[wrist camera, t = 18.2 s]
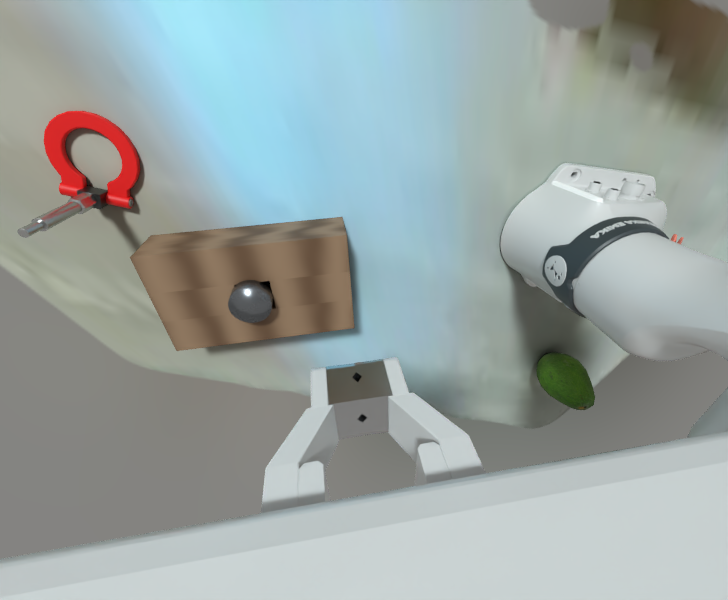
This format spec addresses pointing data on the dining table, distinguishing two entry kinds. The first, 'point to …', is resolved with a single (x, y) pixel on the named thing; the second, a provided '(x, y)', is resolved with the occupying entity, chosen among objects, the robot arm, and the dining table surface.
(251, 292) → the steel pin
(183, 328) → the hitch block
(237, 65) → the dining table surface
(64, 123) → the tow hook
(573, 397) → the avocado
